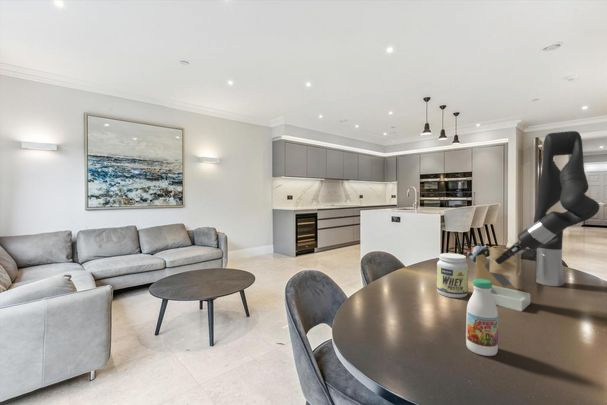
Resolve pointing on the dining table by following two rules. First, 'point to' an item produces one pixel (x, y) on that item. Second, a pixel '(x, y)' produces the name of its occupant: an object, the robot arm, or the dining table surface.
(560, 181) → the robot arm
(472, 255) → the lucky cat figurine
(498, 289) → the grey crate
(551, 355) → the dining table surface
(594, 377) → the dining table surface
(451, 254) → the supplement tub
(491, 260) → the oak crate
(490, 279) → the sandwich container
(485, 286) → the milk bottle
